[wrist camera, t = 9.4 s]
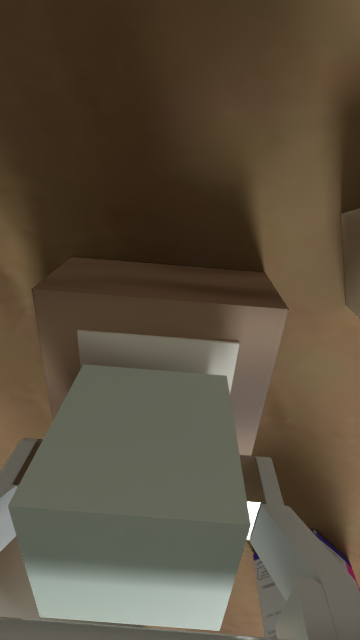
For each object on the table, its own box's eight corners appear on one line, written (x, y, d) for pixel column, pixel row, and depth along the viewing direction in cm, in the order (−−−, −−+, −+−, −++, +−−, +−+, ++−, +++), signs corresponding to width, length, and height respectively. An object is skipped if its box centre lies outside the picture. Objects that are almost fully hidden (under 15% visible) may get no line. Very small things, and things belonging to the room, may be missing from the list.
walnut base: (71, 256, 14) (30, 289, 11) (265, 272, 14) (289, 310, 11) (84, 404, 19) (58, 464, 15) (235, 416, 19) (246, 479, 15)
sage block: (83, 364, 11) (7, 505, 6) (226, 375, 11) (251, 524, 6) (91, 462, 13) (39, 617, 9) (210, 471, 13) (219, 630, 9)
